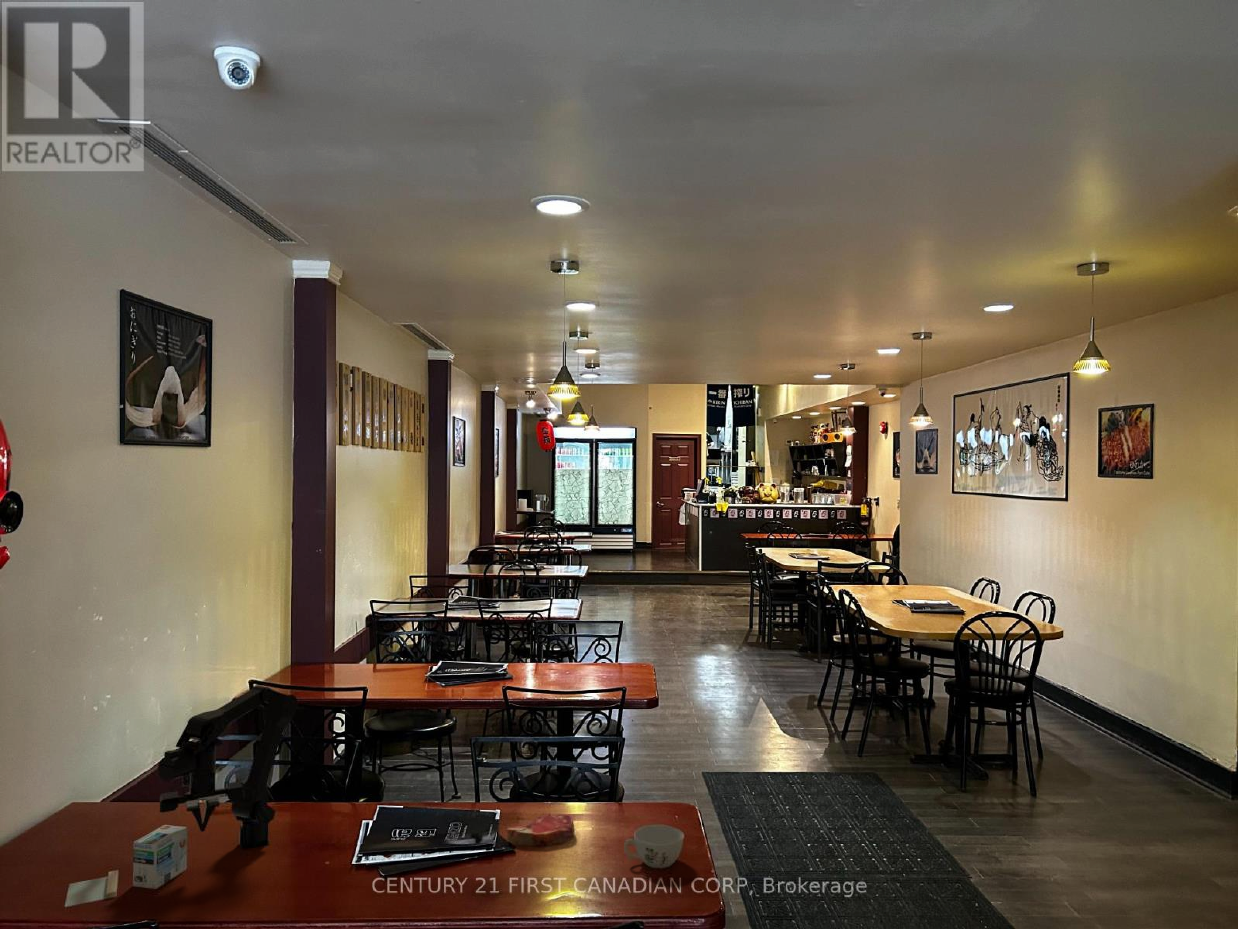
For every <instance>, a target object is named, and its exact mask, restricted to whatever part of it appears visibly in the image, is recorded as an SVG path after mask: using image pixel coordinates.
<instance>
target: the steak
mask: <svg viewBox="0 0 1238 929" xmlns="http://www.w3.org/2000/svg"><path fill="white" fill-rule="evenodd" d="M506 834H507V842H508V841H509V842H512V843H514V844H513V845H515V846H522V845H524V846H523V847H526V846H527V847H535V848H545V847H546V848H548V847H553V846H558V845H559V846H561V845H564V844H566V843H569V842H570V841H571V840H573V838H574V835H575V825H574V819H573V817H572V816H571V815H569V814H565V813H564V814H562V813H556V814H554V815H551V813H547V814H544V815H540V816H538V817H536V818H535V819H534V820H533V821H531V822H529V823H526V824H524V825H518V826H511V827H507V829H506Z"/></svg>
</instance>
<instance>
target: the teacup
mask: <svg viewBox="0 0 1238 929" xmlns="http://www.w3.org/2000/svg"><path fill="white" fill-rule="evenodd" d="M684 839H685V834H684V833H683V832H682V831H681V830H680V829H678V828H676V827H673V826H670V825H666V824H650V825H645V826H642V827H639V828H638V829H636V830H635V832H634V833H633V839H632V838H627V839H626V840H625V842H624V844H623V845H624V846H623V847H624V848H623V850H624V852H625V854H626V855H628V856H629V857H632V858H636V859H637V858H638V859H640V860H641V861H642V862H643V863H644V864H645V865H647V867H650V868H653V869H666V868H668V867H671V866H672V865H673V864H674V863H675V862H676V861H677V859H678V858H679V855H680V853H681V851H682V848H683V843H684ZM630 844H632V845H633V847H634V849H636V852H637V854H635V853H632V852H630V851H629V850H628V845H630Z"/></svg>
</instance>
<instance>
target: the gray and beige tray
mask: <svg viewBox="0 0 1238 929" xmlns="http://www.w3.org/2000/svg"><path fill="white" fill-rule="evenodd" d="M118 884H119V870H118V869H117V870H112V871H108V876H104V877H99V878H93V879H89V880H84V881H83V880H82V881H78V882H73V883H69V885H68V889H67V892H66V893H67V894H66V899H65V903H64V908H67V907H73V906H77V905H82V904H86V903H87V904H88V903H92V902H98V901H101V900H103V901H104V900H107V899H112V898H117V892H118Z"/></svg>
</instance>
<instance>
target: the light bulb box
mask: <svg viewBox="0 0 1238 929" xmlns="http://www.w3.org/2000/svg"><path fill="white" fill-rule="evenodd" d="M187 845H188V827H187V826H177V825H169V824H164V825H161V827H160V826H159V828H157V829H154V830H153V831H151V832H150V833H148V834H146V835H144V836H143V837H140V838H139V839H137V840H135V841H133V859H132V860H133V864H132V866H133V871H132V872H133V876H132V877H133V878H132V883H133V884H132V886H133V887H137V888H146V889H155V890H156V889H158V888H159V887H161V886H163V885H165V884H167V883H168V882H169V881H170V880H172V879H174V878H176V877H177V876H179V875H180V874H182V873H183V872H185V871H186V870H187V861H188V860H187V856H188V854H187V853H188V846H187Z"/></svg>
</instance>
